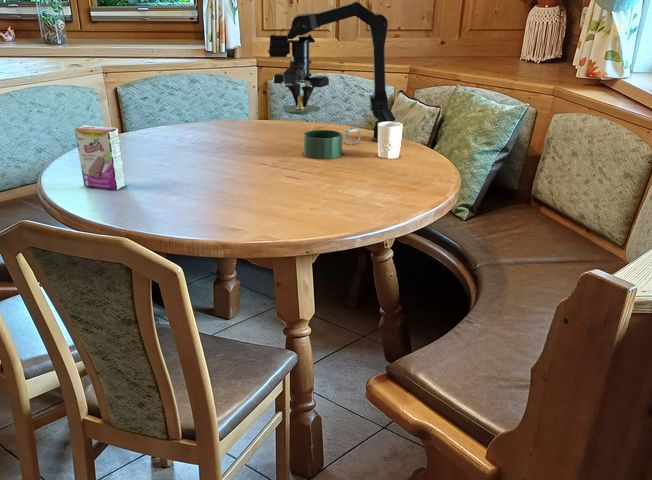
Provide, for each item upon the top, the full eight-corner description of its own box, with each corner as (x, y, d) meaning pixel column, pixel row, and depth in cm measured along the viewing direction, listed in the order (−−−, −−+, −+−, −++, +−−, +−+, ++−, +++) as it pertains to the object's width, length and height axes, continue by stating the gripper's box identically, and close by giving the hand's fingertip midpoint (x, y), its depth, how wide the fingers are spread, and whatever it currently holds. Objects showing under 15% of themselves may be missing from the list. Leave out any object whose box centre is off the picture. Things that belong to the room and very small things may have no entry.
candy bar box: (83, 187, 208) (73, 128, 199) (93, 182, 212) (83, 124, 203) (117, 190, 205) (108, 131, 196) (126, 186, 209) (118, 127, 200)
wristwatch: (358, 142, 252) (358, 127, 249) (361, 144, 250) (361, 129, 247) (341, 143, 250) (341, 128, 248) (344, 145, 248) (344, 130, 245)
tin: (347, 152, 240) (348, 132, 237) (330, 160, 231) (330, 140, 228) (315, 148, 245) (315, 128, 242) (297, 156, 236) (297, 136, 233)
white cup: (373, 157, 234) (374, 125, 229) (380, 152, 240) (382, 120, 235) (396, 160, 231) (398, 127, 226) (403, 154, 237) (405, 122, 232)
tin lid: (327, 110, 251) (327, 94, 248) (308, 117, 241) (308, 101, 238) (294, 106, 256) (293, 91, 254) (274, 113, 247) (274, 97, 244)
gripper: (263, 58, 238) (265, 108, 246) (313, 62, 230) (313, 113, 238) (281, 54, 246) (282, 102, 254) (329, 57, 238) (329, 107, 246)
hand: (301, 106), depth 248 cm, fingers closed on tin lid, 2 cm apart
